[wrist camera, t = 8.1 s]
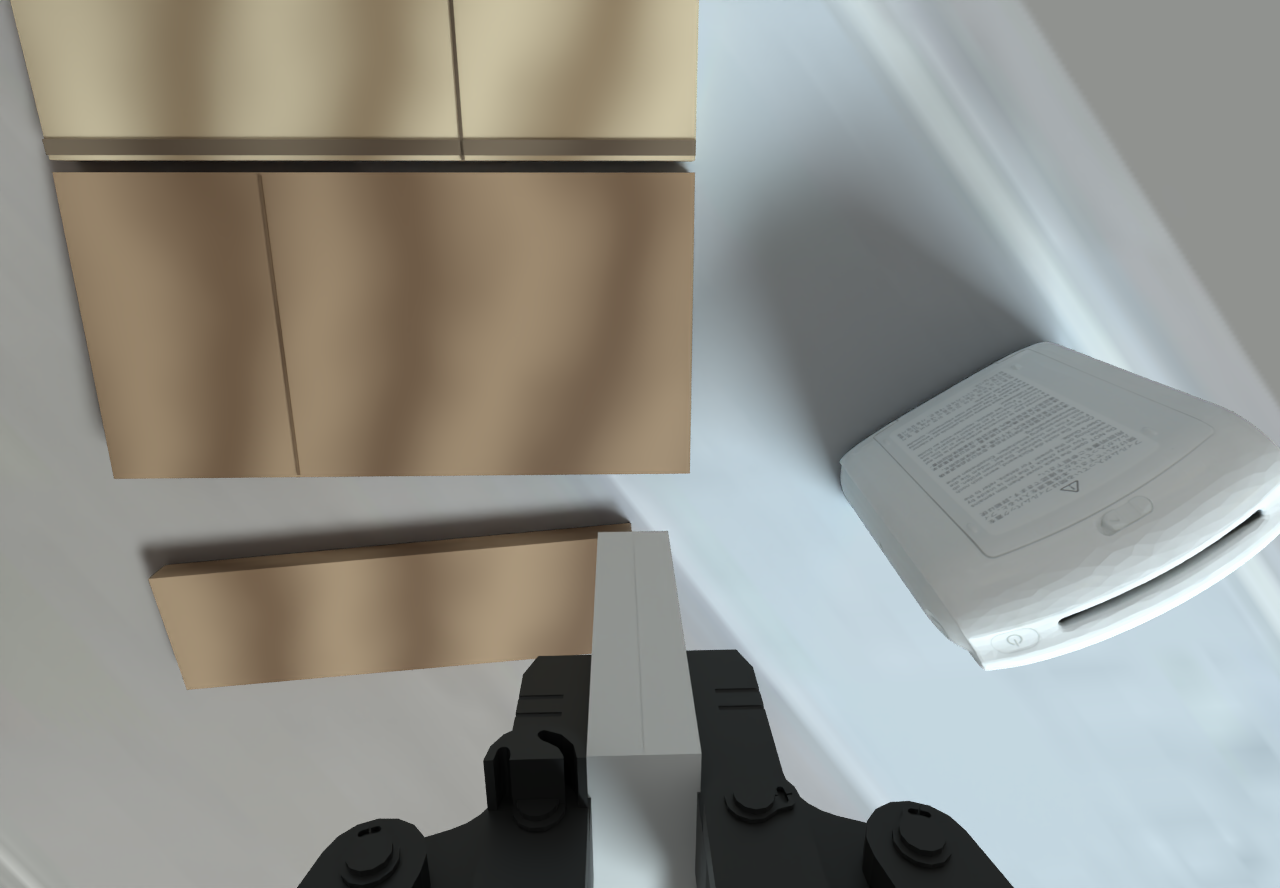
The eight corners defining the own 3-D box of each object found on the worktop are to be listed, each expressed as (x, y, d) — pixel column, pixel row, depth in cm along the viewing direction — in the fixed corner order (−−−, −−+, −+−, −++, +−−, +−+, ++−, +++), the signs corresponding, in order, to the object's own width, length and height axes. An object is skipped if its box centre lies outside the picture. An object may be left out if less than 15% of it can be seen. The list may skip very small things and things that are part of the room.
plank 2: (201, 672, 33) (186, 689, 32) (165, 565, 31) (148, 579, 30) (641, 633, 33) (642, 649, 32) (630, 523, 31) (631, 535, 30)
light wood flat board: (74, 161, 26) (47, 159, 25) (2, -145, 23) (-33, -164, 22) (691, 161, 27) (695, 160, 25) (698, -138, 24) (702, -156, 22)
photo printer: (865, 535, 32) (1007, 736, 20) (818, 457, 31) (939, 624, 19) (1087, 408, 30) (1381, 548, 18) (1046, 321, 29) (1335, 412, 17)
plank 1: (134, 469, 29) (112, 479, 28) (77, 175, 26) (50, 172, 25) (687, 464, 30) (690, 473, 28) (691, 175, 27) (695, 172, 26)
